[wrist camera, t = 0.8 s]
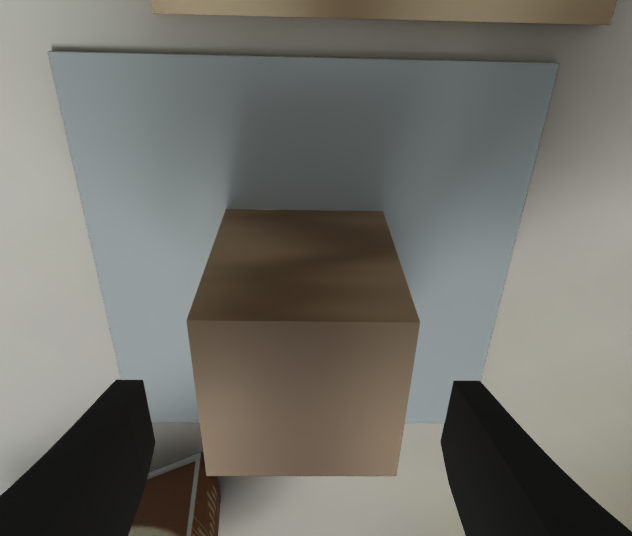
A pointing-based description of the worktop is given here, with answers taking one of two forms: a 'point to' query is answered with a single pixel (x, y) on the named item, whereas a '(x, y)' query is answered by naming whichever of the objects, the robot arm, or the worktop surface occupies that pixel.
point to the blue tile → (300, 186)
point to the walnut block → (302, 345)
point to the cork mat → (405, 9)
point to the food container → (179, 501)
